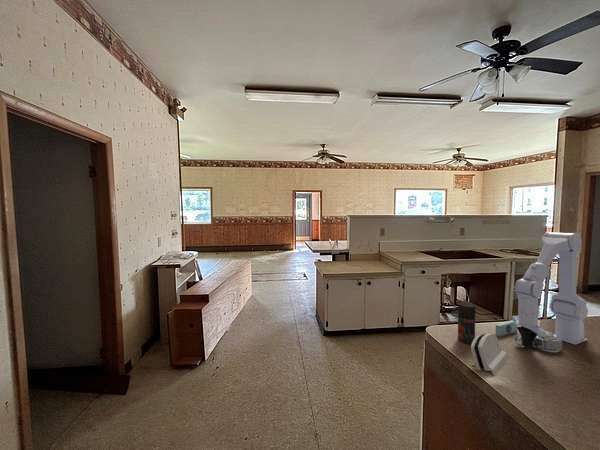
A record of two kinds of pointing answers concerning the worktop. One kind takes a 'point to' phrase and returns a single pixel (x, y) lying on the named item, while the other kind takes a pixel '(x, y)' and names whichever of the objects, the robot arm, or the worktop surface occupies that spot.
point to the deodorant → (466, 322)
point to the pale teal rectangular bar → (506, 328)
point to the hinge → (488, 353)
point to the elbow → (543, 343)
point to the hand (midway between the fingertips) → (527, 347)
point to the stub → (550, 336)
